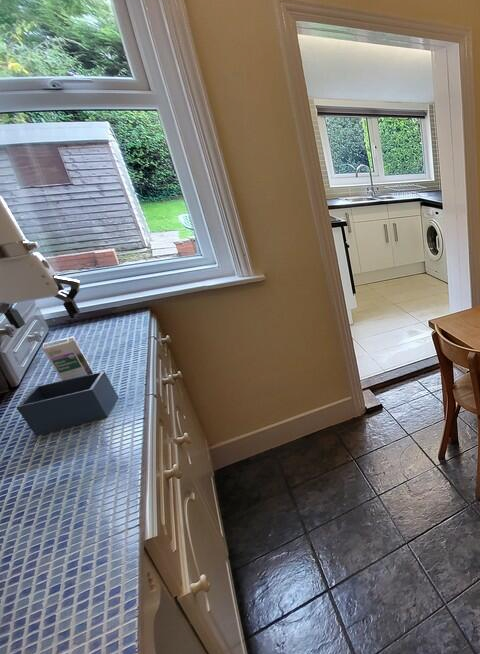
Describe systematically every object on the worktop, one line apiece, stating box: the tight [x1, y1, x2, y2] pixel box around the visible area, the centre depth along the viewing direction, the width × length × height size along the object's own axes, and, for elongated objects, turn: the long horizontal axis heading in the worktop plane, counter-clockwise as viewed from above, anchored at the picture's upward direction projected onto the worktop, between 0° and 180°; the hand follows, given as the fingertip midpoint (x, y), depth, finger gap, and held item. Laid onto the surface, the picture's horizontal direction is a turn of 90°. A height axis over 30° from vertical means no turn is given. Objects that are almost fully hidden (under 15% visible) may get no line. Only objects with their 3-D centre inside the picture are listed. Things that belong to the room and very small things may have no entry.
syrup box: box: [42, 335, 95, 381], centre depth 104 cm, size 6×6×14 cm
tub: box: [16, 370, 119, 437], centre depth 95 cm, size 12×10×8 cm
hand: (48, 321), depth 99 cm, fingers open, 9 cm apart
